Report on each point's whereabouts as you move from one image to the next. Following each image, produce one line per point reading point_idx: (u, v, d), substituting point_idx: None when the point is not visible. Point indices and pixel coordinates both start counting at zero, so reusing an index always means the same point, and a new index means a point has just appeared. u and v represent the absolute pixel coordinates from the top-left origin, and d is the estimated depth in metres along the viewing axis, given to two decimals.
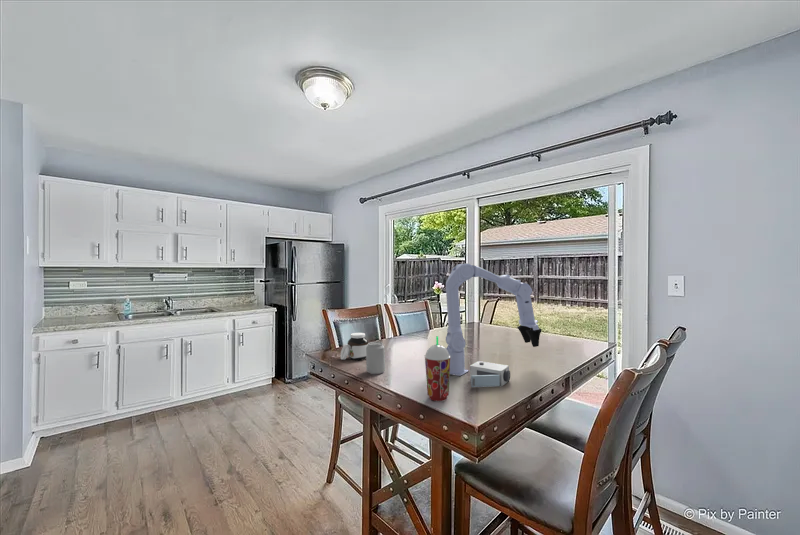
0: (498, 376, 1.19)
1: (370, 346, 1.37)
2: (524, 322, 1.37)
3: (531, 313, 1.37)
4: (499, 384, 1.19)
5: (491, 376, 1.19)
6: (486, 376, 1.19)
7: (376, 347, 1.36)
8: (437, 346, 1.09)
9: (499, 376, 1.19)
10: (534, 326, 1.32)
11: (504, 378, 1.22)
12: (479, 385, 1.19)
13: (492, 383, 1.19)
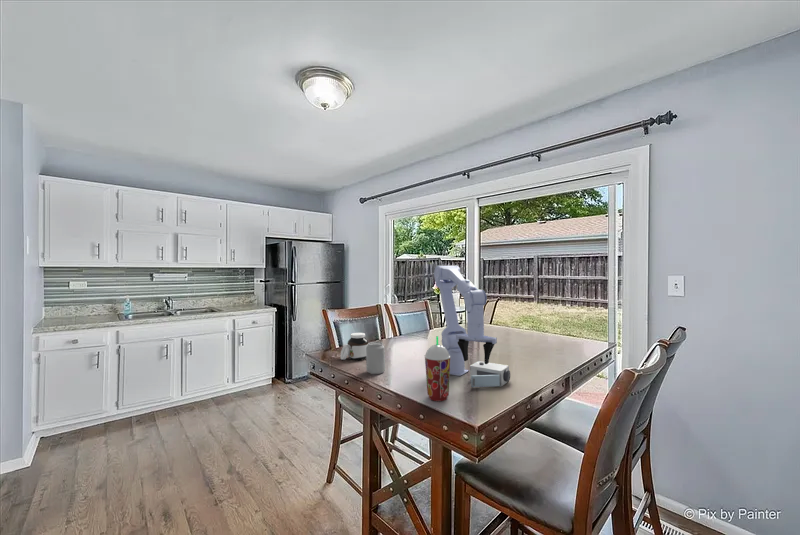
0: (498, 376, 1.19)
1: (370, 346, 1.37)
2: None
3: (467, 325, 1.22)
4: (499, 384, 1.19)
5: (491, 376, 1.19)
6: (486, 376, 1.19)
7: (376, 347, 1.36)
8: (437, 346, 1.09)
9: (499, 376, 1.19)
10: None
11: (504, 378, 1.22)
12: (479, 385, 1.19)
13: (492, 383, 1.19)
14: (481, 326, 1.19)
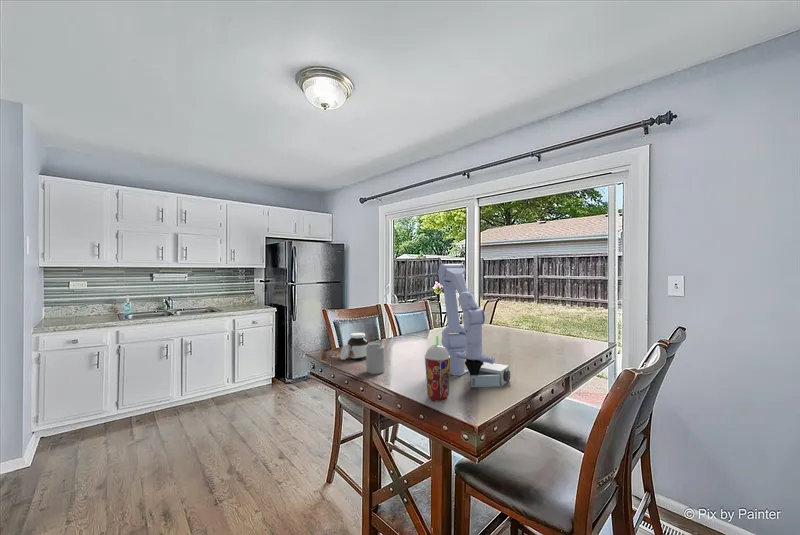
0: (498, 376, 1.19)
1: (370, 346, 1.37)
2: None
3: (465, 344, 1.22)
4: (499, 384, 1.19)
5: (491, 376, 1.19)
6: (486, 376, 1.19)
7: (376, 347, 1.36)
8: (437, 346, 1.09)
9: (499, 376, 1.19)
10: None
11: (504, 378, 1.22)
12: (479, 385, 1.19)
13: (492, 383, 1.19)
14: (479, 345, 1.19)
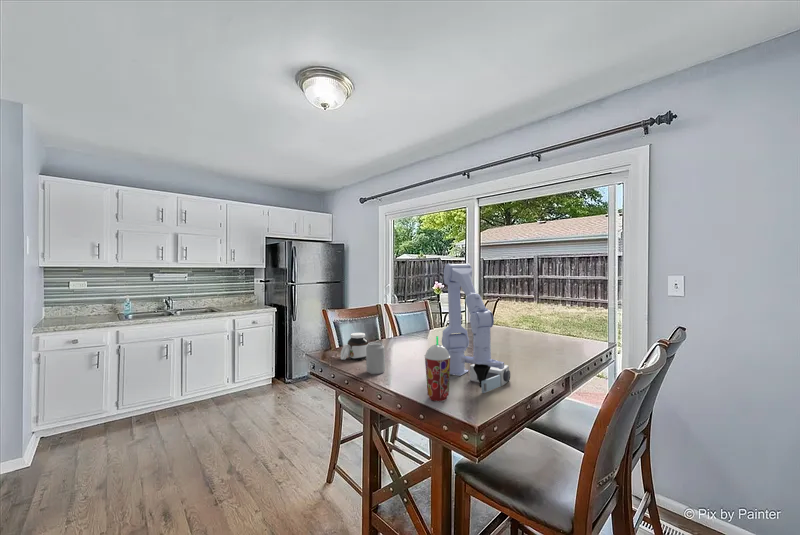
0: (499, 376, 1.19)
1: (370, 346, 1.37)
2: None
3: (473, 348, 1.16)
4: (500, 384, 1.19)
5: (495, 378, 1.17)
6: (492, 379, 1.16)
7: (376, 347, 1.36)
8: (437, 346, 1.09)
9: (500, 376, 1.19)
10: None
11: (504, 378, 1.22)
12: (488, 389, 1.15)
13: (496, 384, 1.18)
14: (487, 349, 1.13)
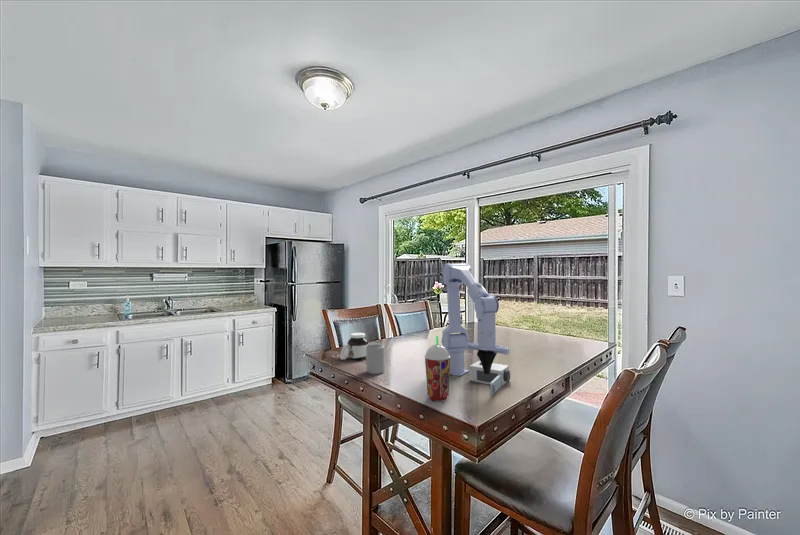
0: (500, 376, 1.19)
1: (370, 346, 1.37)
2: None
3: (478, 334, 1.14)
4: (500, 384, 1.19)
5: (498, 378, 1.17)
6: (496, 379, 1.15)
7: (376, 347, 1.36)
8: (437, 346, 1.09)
9: (500, 376, 1.19)
10: None
11: (504, 378, 1.22)
12: (494, 391, 1.13)
13: (498, 385, 1.17)
14: (492, 335, 1.11)
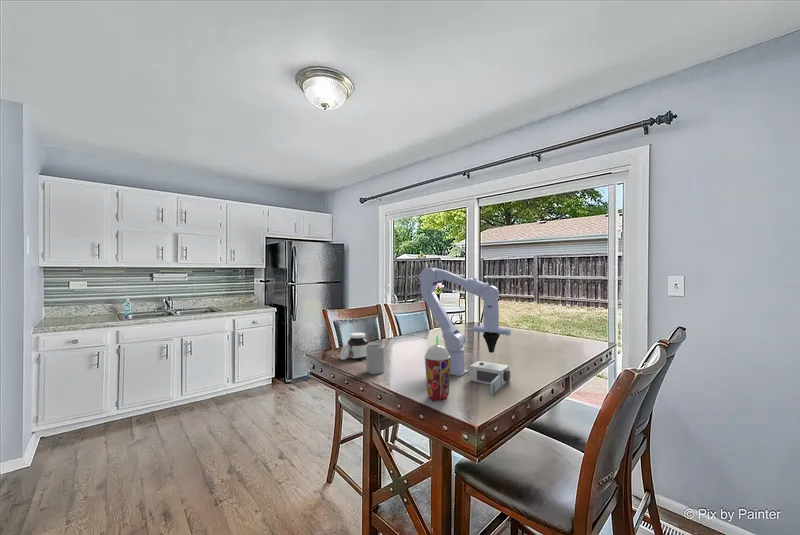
0: (500, 376, 1.19)
1: (370, 346, 1.37)
2: None
3: None
4: (500, 384, 1.19)
5: (498, 378, 1.17)
6: (496, 379, 1.15)
7: (376, 347, 1.36)
8: (437, 346, 1.09)
9: (500, 376, 1.19)
10: None
11: (504, 378, 1.22)
12: (494, 391, 1.13)
13: (498, 385, 1.17)
14: (496, 319, 1.29)
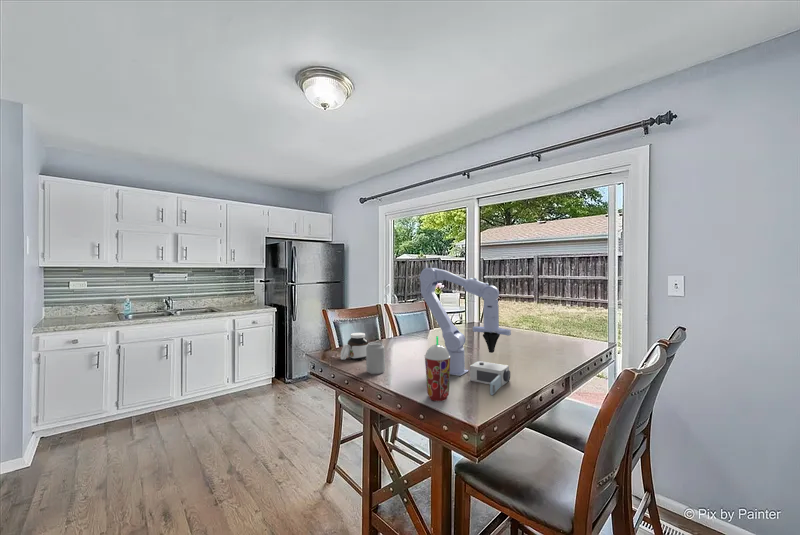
0: (500, 376, 1.19)
1: (370, 346, 1.37)
2: None
3: None
4: (500, 384, 1.19)
5: (498, 378, 1.17)
6: (496, 379, 1.15)
7: (376, 347, 1.36)
8: (437, 346, 1.09)
9: (500, 376, 1.19)
10: None
11: (504, 378, 1.22)
12: (494, 391, 1.13)
13: (498, 385, 1.17)
14: (496, 319, 1.29)
